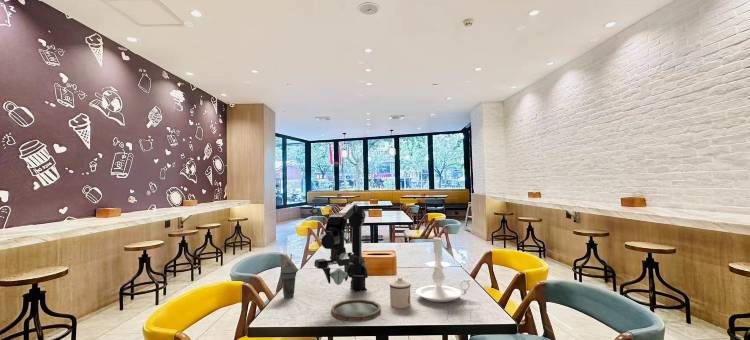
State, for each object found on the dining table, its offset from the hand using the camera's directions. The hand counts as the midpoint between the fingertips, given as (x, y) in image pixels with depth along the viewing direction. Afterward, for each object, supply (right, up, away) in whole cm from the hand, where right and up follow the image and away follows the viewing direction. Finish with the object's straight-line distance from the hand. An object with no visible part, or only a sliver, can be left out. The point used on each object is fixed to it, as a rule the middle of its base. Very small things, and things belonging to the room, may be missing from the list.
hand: (337, 282), depth 141 cm
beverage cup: (-25, -12, +15) cm, 32 cm away
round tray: (+8, -11, -4) cm, 14 cm away
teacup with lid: (+26, -11, +4) cm, 29 cm away
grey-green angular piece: (0, -1, 0) cm, 1 cm away
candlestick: (+47, -11, +10) cm, 49 cm away
